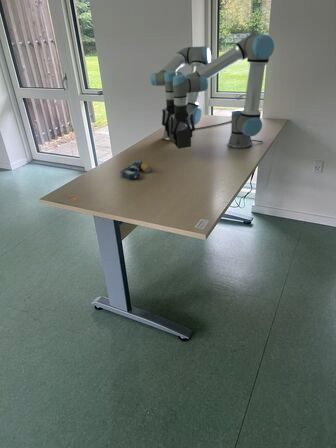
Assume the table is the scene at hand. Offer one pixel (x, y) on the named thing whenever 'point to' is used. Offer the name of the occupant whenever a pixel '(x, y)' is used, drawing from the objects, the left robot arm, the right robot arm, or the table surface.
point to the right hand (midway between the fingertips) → (182, 143)
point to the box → (181, 135)
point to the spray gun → (135, 167)
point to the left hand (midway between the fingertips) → (174, 134)
